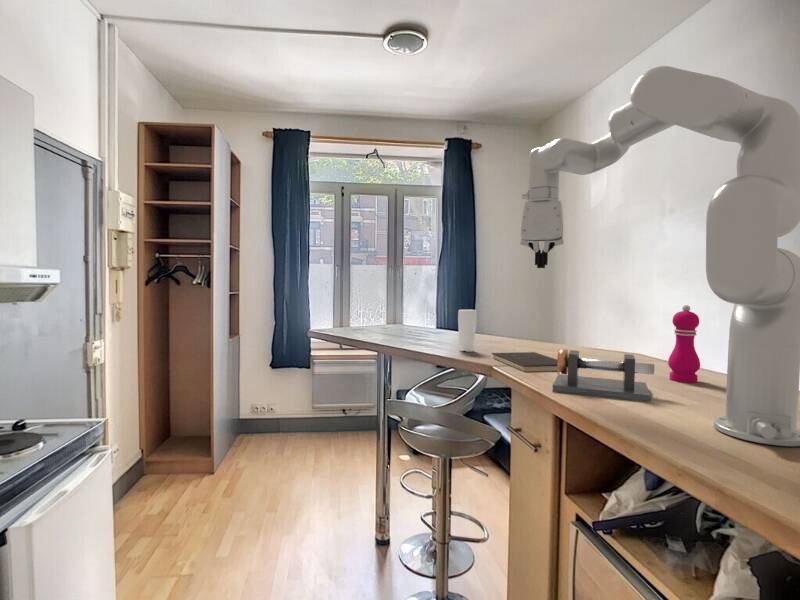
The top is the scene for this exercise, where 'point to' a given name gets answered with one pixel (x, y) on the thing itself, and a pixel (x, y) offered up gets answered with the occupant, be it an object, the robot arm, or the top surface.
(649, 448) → the top surface
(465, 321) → the drinking glass
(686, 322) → the pepper mill
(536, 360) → the hardcover book
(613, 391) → the stand
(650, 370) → the shaft
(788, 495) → the top surface
